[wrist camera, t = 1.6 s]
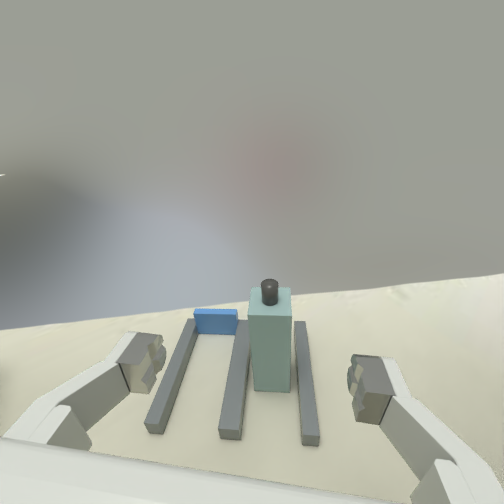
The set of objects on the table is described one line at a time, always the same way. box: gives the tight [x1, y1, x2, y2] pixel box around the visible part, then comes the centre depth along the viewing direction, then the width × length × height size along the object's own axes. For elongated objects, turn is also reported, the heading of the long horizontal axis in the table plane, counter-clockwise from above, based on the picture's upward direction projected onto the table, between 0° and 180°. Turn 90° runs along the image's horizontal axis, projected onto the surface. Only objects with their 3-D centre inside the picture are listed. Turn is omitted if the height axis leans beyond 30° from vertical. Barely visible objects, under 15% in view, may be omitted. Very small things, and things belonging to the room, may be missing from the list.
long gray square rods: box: [144, 309, 320, 446], centre depth 30 cm, size 17×14×4 cm
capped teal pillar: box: [248, 279, 292, 393], centre depth 27 cm, size 4×4×14 cm
